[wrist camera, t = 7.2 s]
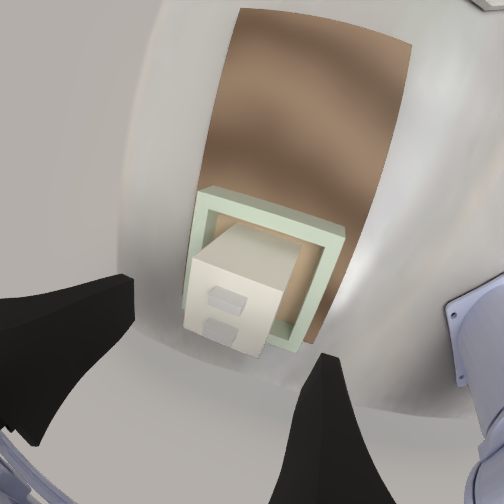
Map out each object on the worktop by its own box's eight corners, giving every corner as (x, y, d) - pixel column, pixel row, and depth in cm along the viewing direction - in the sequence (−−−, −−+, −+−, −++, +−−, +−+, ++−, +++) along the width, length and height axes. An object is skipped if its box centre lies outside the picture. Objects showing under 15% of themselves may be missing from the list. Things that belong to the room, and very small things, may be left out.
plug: (282, 301, 18) (253, 370, 12) (224, 279, 18) (175, 336, 13) (302, 244, 16) (279, 302, 10) (237, 222, 17) (183, 265, 11)
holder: (301, 334, 18) (296, 353, 17) (194, 294, 20) (181, 308, 18) (344, 226, 15) (345, 238, 13) (213, 185, 16) (197, 190, 15)
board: (314, 335, 19) (312, 344, 18) (188, 288, 21) (182, 294, 20) (408, 50, 11) (411, 44, 10) (245, 14, 13) (240, 8, 12)
